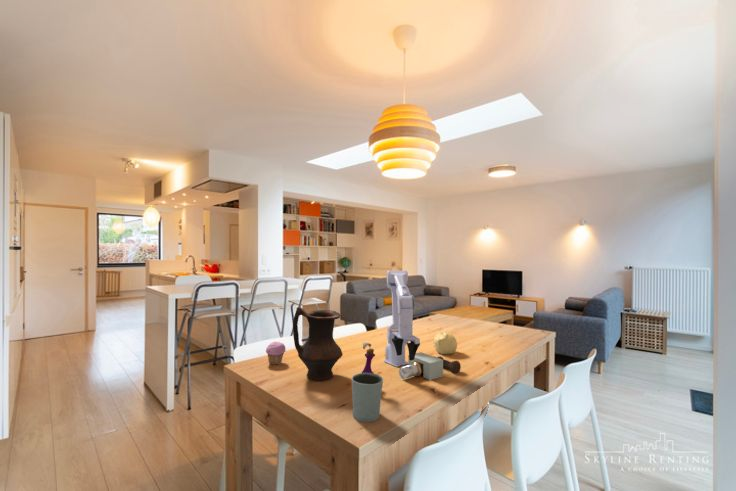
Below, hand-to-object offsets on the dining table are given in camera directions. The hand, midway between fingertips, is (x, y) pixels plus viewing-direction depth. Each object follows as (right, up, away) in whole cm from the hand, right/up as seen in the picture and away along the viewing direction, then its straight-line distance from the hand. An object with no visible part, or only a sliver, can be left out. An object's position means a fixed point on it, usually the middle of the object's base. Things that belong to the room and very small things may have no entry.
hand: (405, 357), depth 139 cm
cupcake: (-59, -9, +18) cm, 62 cm away
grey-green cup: (-16, -9, -31) cm, 36 cm away
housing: (+10, -9, +7) cm, 15 cm away
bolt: (+20, -10, +14) cm, 26 cm away
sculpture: (+25, -10, +38) cm, 47 cm away
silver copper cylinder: (+4, -9, +3) cm, 10 cm away
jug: (-37, -9, +2) cm, 38 cm away
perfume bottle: (-16, -9, -11) cm, 21 cm away
